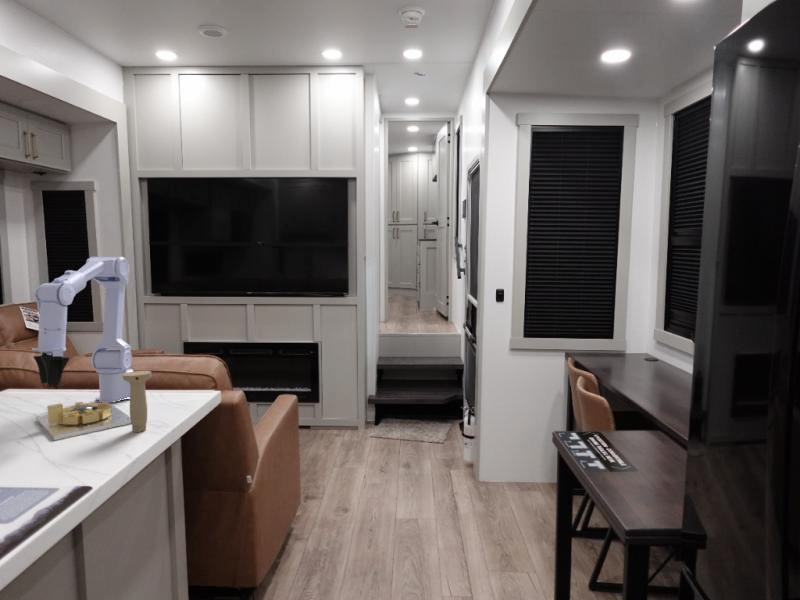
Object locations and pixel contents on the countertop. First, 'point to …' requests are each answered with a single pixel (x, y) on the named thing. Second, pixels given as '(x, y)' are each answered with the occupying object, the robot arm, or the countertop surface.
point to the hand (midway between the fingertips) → (49, 384)
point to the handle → (138, 398)
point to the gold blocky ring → (74, 417)
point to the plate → (70, 430)
